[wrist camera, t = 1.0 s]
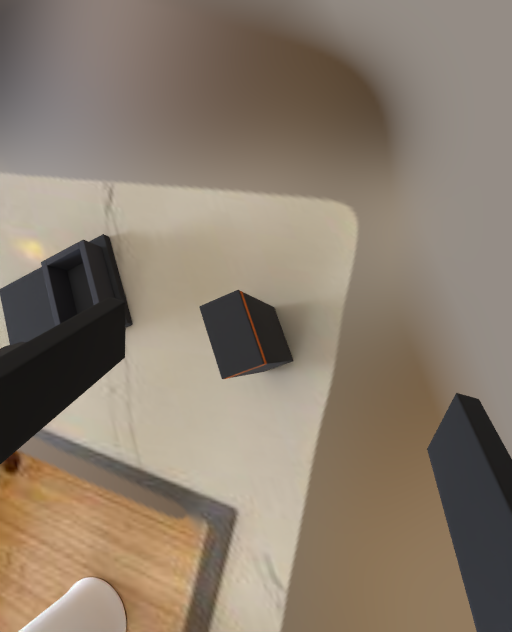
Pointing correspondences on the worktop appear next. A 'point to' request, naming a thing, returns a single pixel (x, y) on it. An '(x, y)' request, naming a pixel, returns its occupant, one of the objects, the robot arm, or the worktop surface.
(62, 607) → the mug
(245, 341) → the black orange-striped block
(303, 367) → the worktop surface
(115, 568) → the worktop surface
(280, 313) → the worktop surface
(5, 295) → the base pad
